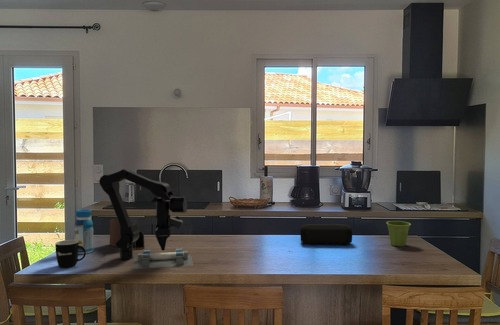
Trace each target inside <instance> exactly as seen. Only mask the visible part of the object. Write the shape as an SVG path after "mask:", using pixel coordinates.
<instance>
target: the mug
mask: <svg viewBox="0 0 500 325" xmlns="http://www.w3.org/2000/svg"><path fill="white" fill-rule="evenodd" d="M54 248H55V256H56V262H57V265H58V267H59V268H61V269H69V267H70V268H73V266H74V267H76V265H77V263H78V262H80V261H82V260H83V259H85V257H86V255H87V253H86V251H85V249H84V248H83V247H82V246H80V245H79V242H78V241H77V240H75V239H66V240H65V239H64V240H58V241H57V242H55V247H54ZM79 248H82V249H83V251H84V254H83V256H82V257H81V258H78V257H79V254H78V249H79Z"/></svg>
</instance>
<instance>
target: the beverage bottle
mask: <svg viewBox="0 0 500 325" xmlns="http://www.w3.org/2000/svg"><path fill="white" fill-rule="evenodd" d="M75 217H76V220H75V223H74V229H73V231H74V240H77V241H78V242H79V245H80V246H82V247H83V248H84V249H85V251H86V254H91V253H92V252H94V226H93V225H94V224H93V222H94V221H93V220H92V219H91V217H92V210H91V209H89V208H88V209H87V208H86V209H85V208H83V209H76V211H75ZM79 254H81V255H84V251H83V249H82V248H79V249H78V255H79Z"/></svg>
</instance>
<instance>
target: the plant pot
mask: <svg viewBox="0 0 500 325" xmlns="http://www.w3.org/2000/svg"><path fill="white" fill-rule="evenodd" d="M385 223H386V224H387V229H388V236H389V242H390V245H391V246H394V247H395V246H397V247H405V246H406V245H407V239H408V235H409V230H410V226H411V225H412V224H411V223H410V222H407V221H402V220H389V221H386V222H385Z"/></svg>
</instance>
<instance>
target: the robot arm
mask: <svg viewBox="0 0 500 325" xmlns="http://www.w3.org/2000/svg"><path fill="white" fill-rule="evenodd" d="M123 180H127V181H129V182H131V183H134V184H135V185H138V186H140V187H142V188H145V189H147V190H148V191H149V192H150V193H151V194H153V195H154V198H152V199H151V201H150V202H151V203H155V207H156V208H155V213H156V214H155V220H156V223H155V231H154V232H155V233H154V235H155V238H156V240H157V242H158V244H159V247H160V249H161V251H165V250H166V244H167V241H168V238H169V237H171V227H174V228H176V229H178V230H181V229H182V226H183V224H184V221H183V220H182V219H181V218H180V217H181V216H179V215H176V216H175V217H172V216H171V212H172V213H175V214H177V213H180V214H182V213H183V214H184V213H187V210H188V202H187V200H186V196H176V194H174V192H173V190H172V188H171V185H170V184H168V182H163V181H160V180H159V181H158V180H153V179H151V178H148V177H145V176H144V175H142V174H139V173H137V172H135V171H132V170H131V169H128V168H125V169H121V170H119V171H117V172H116V171H115V172H114V173H110V174H108V173H107V174H103V175H102V176H100V178H99V180H98V181H99V185H100V187H101V189H102V190H103V191H104V192H105V194H106V195H107V196H108V198H109V200H110V202H111V206H112V208H113V210H114V213H115V216H116V219H117V220H118V221H119V224H120V236H121V239H120V240H119V241H118V242H117V243H116V246H117V249H118V248H120V249H119V259H120V260H121V261H130V260H132V259H134V250H133V244H135V243H136V240H138V238H139V236H140V234H139V232H140V231H141V230H140V229H139V226H138V224H137V223H133V222H132V221H131V219H130V217H129V213H128V211H127V208H126V206H125V203H124V200H123V198H122V195H121V193H120V182H121V181H123ZM139 230H140V231H139Z"/></svg>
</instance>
